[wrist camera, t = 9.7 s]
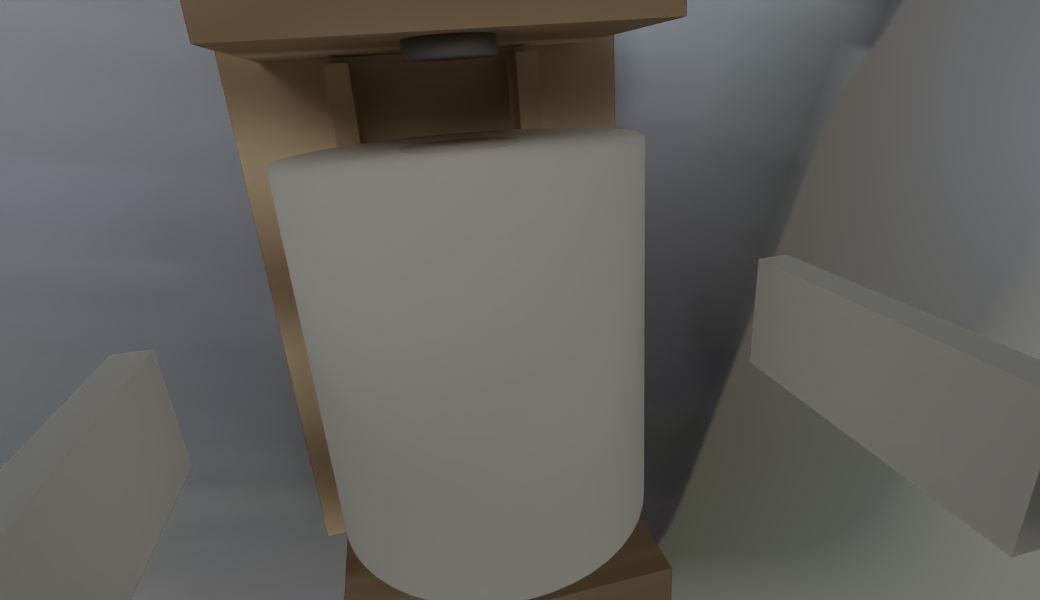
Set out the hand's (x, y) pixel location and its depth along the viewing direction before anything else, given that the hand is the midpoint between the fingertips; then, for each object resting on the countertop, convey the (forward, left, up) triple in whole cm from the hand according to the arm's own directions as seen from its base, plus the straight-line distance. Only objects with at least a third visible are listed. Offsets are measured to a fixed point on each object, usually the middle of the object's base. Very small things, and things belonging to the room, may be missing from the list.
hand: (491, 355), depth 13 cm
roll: (0, 0, -6) cm, 6 cm away
